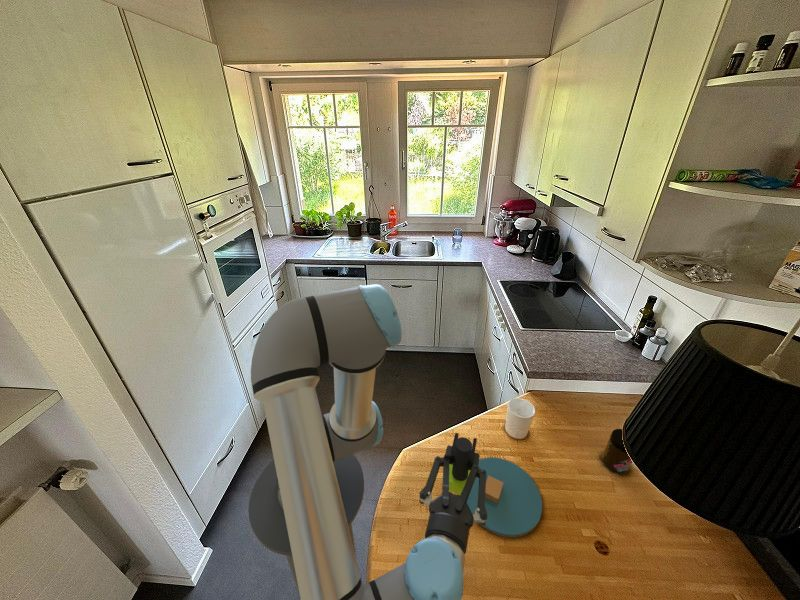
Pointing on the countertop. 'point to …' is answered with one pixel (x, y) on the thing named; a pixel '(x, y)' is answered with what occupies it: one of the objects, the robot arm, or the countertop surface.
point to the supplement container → (616, 453)
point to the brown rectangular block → (493, 489)
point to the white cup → (519, 417)
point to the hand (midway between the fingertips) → (465, 439)
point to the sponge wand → (460, 465)
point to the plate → (509, 499)
